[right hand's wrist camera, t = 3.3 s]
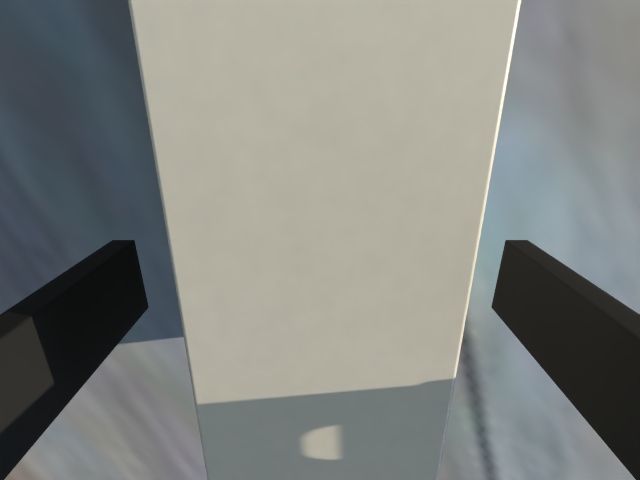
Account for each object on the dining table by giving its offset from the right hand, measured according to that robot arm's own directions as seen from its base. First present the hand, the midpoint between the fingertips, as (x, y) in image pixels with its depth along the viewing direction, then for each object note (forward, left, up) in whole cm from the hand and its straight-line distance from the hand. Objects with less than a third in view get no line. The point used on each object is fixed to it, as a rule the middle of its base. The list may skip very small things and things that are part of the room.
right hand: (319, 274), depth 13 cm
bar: (+6, +6, -4) cm, 9 cm away
